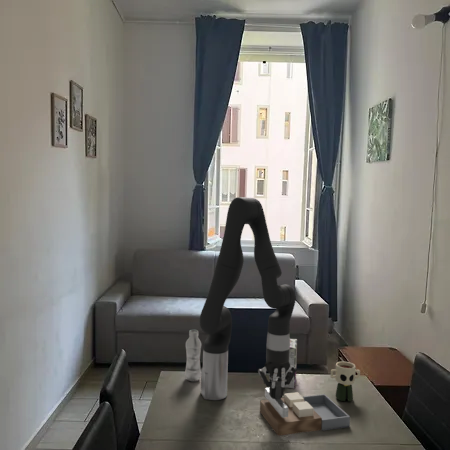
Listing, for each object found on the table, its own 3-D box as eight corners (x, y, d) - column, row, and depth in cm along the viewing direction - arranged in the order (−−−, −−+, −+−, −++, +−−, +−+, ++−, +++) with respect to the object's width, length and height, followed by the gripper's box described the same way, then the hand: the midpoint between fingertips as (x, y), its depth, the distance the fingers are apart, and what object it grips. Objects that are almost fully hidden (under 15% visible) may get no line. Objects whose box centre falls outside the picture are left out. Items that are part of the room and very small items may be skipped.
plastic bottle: (188, 384, 178) (189, 334, 176) (182, 378, 184) (183, 329, 182) (203, 381, 181) (204, 332, 179) (196, 375, 187) (197, 327, 185)
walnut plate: (277, 435, 142) (278, 423, 142) (259, 411, 157) (260, 400, 157) (321, 429, 146) (321, 417, 146) (299, 407, 161) (300, 396, 161)
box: (322, 430, 146) (322, 420, 145) (299, 406, 162) (299, 396, 162) (349, 427, 148) (350, 416, 148) (324, 403, 165) (324, 394, 164)
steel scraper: (282, 417, 142) (283, 389, 142) (264, 396, 157) (265, 371, 156) (288, 416, 143) (289, 389, 142) (270, 395, 157) (271, 370, 157)
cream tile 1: (290, 407, 152) (290, 400, 152) (284, 400, 157) (284, 393, 157) (303, 405, 154) (303, 398, 154) (297, 399, 159) (297, 392, 158)
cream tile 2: (299, 417, 146) (299, 409, 146) (292, 410, 150) (292, 402, 150) (313, 415, 147) (313, 408, 147) (306, 408, 152) (306, 401, 152)
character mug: (332, 403, 165) (333, 368, 164) (327, 394, 172) (328, 361, 171) (361, 403, 165) (363, 368, 164) (355, 395, 172) (357, 361, 171)
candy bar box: (284, 376, 188) (285, 337, 187) (296, 378, 187) (297, 338, 186) (281, 387, 177) (283, 346, 176) (294, 389, 176) (296, 347, 175)
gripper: (292, 340, 154) (290, 390, 155) (254, 343, 150) (252, 394, 151) (302, 348, 147) (300, 400, 148) (262, 351, 143) (260, 404, 144)
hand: (276, 397), depth 150 cm, fingers closed on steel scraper, 2 cm apart
